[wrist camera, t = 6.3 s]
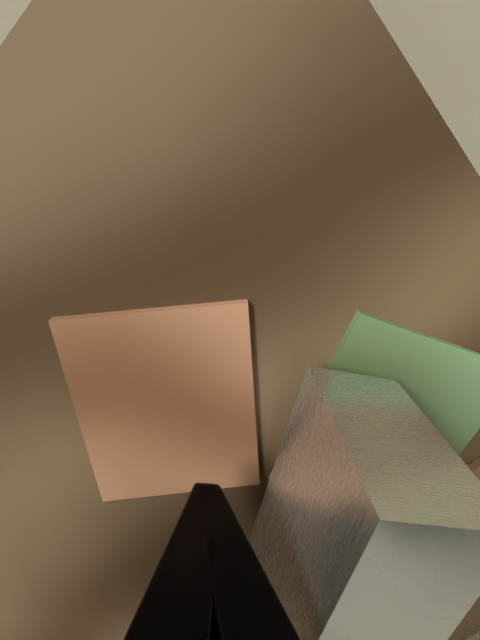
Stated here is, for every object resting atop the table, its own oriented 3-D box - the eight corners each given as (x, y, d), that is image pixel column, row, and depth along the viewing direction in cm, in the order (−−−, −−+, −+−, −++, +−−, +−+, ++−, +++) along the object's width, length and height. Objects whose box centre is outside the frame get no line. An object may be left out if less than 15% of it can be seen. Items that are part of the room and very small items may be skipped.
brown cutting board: (641, 477, 13) (699, 520, 12) (218, 725, 18) (219, 779, 16) (208, -163, 6) (208, -271, 5) (-295, 523, 11) (-378, 583, 9)
